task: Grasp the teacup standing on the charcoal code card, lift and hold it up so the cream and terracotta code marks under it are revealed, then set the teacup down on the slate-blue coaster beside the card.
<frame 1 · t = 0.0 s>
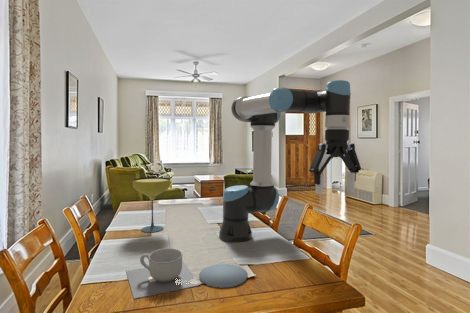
hand: (335, 192, 104), 28 cm above the table, fingers open, 13 cm apart
coaster: (223, 276, 104), on the table
code card: (161, 278, 102), on the table
cocktail glass: (152, 229, 155), on the table
teacup: (161, 277, 102), resting on code card
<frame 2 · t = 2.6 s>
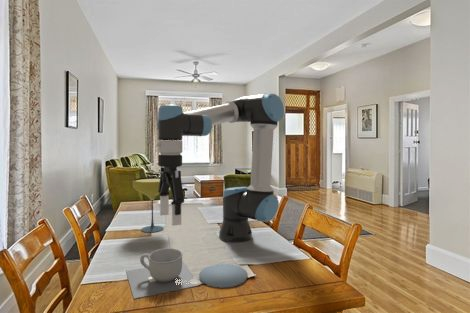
hand: (170, 219, 100), 19 cm above the table, fingers open, 13 cm apart
nothing on the table moved.
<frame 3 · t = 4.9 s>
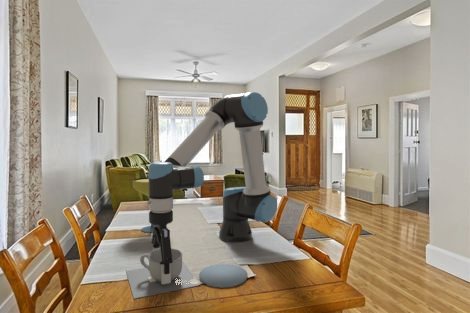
hand: (161, 274, 102), 1 cm above the table, fingers open, 13 cm apart
teacup: (161, 277, 102), resting on code card, touching gripper
everything else where it was.
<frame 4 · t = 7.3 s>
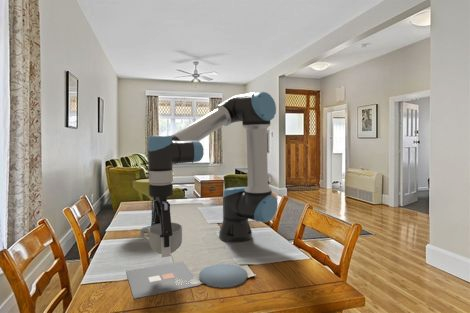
hand: (162, 250, 102), 9 cm above the table, fingers closed on teacup, 11 cm apart
teacup: (161, 250, 103), point 9 cm above the table, touching gripper
everything else where it was.
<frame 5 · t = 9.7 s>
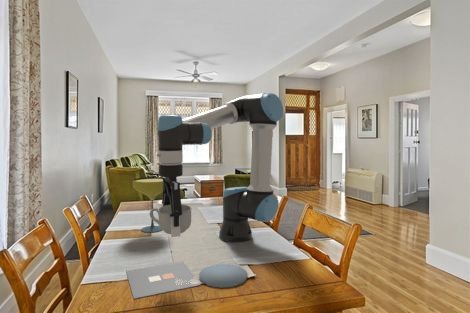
hand: (171, 231, 101), 16 cm above the table, fingers closed on teacup, 11 cm apart
teacup: (171, 231, 102), point 15 cm above the table, touching gripper
everything else where it was.
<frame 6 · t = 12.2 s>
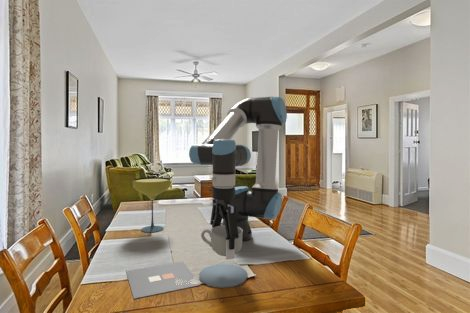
hand: (223, 252, 103), 8 cm above the table, fingers closed on teacup, 11 cm apart
teacup: (222, 253, 104), point 8 cm above the table, touching gripper
everything else where it was.
when the fingers open (2 cm above the table, at t = 14.2 s): teacup drops 1 cm, resting on coaster.
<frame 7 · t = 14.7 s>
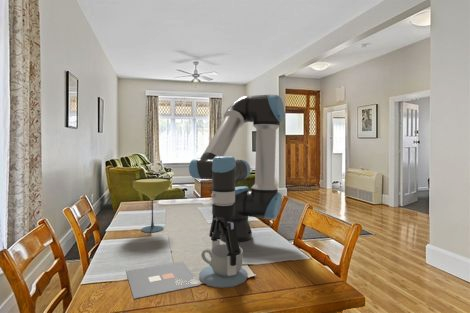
hand: (223, 266, 103), 3 cm above the table, fingers open, 13 cm apart
teacup: (222, 272, 105), point 1 cm above the table, touching coaster
everything else where it was.
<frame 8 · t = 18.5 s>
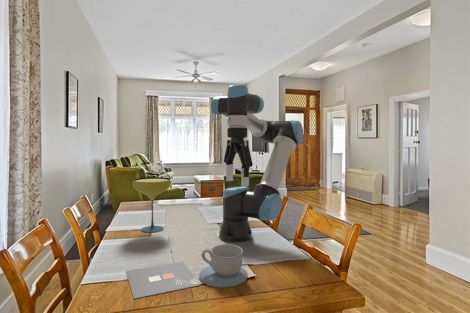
hand: (236, 183, 118), 29 cm above the table, fingers open, 13 cm apart
nothing on the table moved.
at the end: teacup 1.3 cm from the coaster (horizontally); teacup tilted 0°; the gripper is holding nothing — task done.
